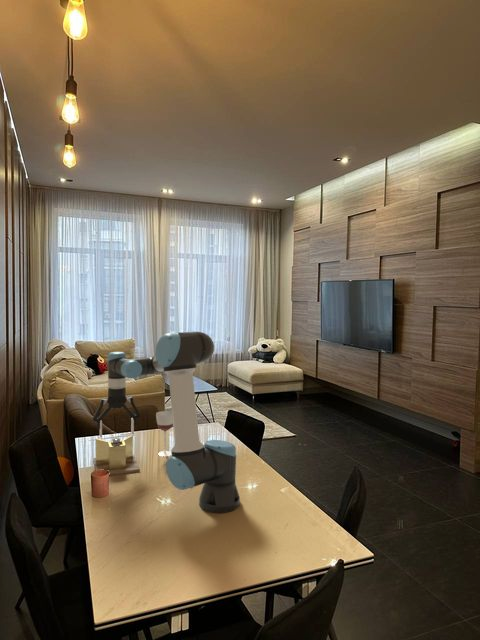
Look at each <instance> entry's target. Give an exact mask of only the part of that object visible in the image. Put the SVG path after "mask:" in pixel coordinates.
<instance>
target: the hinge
mask: <svg viewBox="0 0 480 640" xmlns="http://www.w3.org/2000/svg"><path fill="white" fill-rule="evenodd" d="M133 437H134V436H133V434H132V435H129V436H127V437H126V438H124V439H122V440H120V445H116V446H113V441H108V440H105V439H100V438H95V458H96V461H99V462H103V463H107V464H108V465H109V469H118V468H125V467H126V460H128V459H129V458H131V457H132V456H133V455H134V453H133V452H134V451H133V447H134V444H133V443H134V440H133V439H134V438H133Z"/></svg>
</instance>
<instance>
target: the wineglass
mask: <svg viewBox="0 0 480 640" xmlns="http://www.w3.org/2000/svg"><path fill="white" fill-rule="evenodd" d="M155 418H156V424H157V427H158V429H159V430H161V431H163V436H164V437H163V438H164V439H163V441H164V442H163V450H161V451H159V453H158V452H157V453H158V455H159V457H163V456H164V457H169V456H170V457H171V456H172V452H171V451H170V450H167V449H166V448H167V443H166V442H167V441H166V440H167V438H166V437H167V431H169V430H170V429H172V427H173V417H172V410H171V411H170V410H169V411H168V410H165V411H164V410H163V411H161V410H160V411H156V413H155ZM158 455H157V456H158Z"/></svg>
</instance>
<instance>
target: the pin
mask: <svg viewBox="0 0 480 640" xmlns="http://www.w3.org/2000/svg"><path fill="white" fill-rule="evenodd" d="M120 441H121V438H120V437H115V438H112V442H113V446H116V445H120Z"/></svg>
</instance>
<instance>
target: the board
mask: <svg viewBox="0 0 480 640" xmlns="http://www.w3.org/2000/svg"><path fill="white" fill-rule="evenodd" d="M93 464H94V465H93V466H94V470H100V469H104V470H109V473H110V475H109V476H115V475H124V474H131V473H132V474H133V473H137V472H140V471H141V469H140V466H139V464H138V461H137V459H136V457H135V455H134V454H133V456H132V457H131V458H129V459H128V460H126V467H125V468H118V469H109V465H108V464H107V463H103V462H99V461H96V457H93Z"/></svg>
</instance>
